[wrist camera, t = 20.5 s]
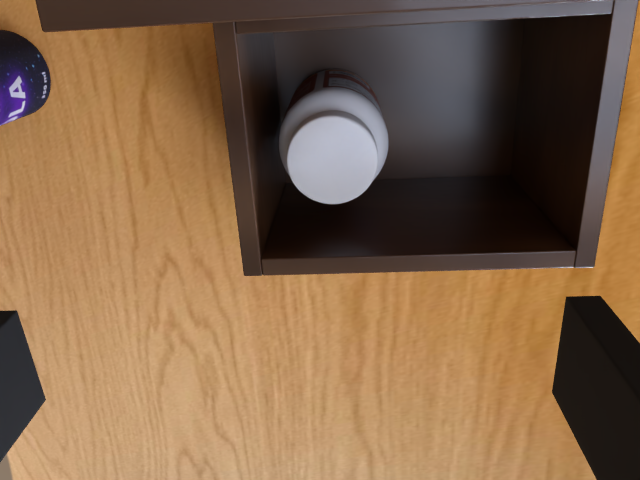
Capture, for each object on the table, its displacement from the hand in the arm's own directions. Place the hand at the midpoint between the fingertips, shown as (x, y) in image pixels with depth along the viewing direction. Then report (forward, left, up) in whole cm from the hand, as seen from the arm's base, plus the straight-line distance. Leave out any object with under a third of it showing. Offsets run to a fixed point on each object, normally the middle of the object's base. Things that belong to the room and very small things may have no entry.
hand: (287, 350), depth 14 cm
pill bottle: (0, +1, -27) cm, 27 cm away
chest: (+1, +5, -28) cm, 28 cm away
